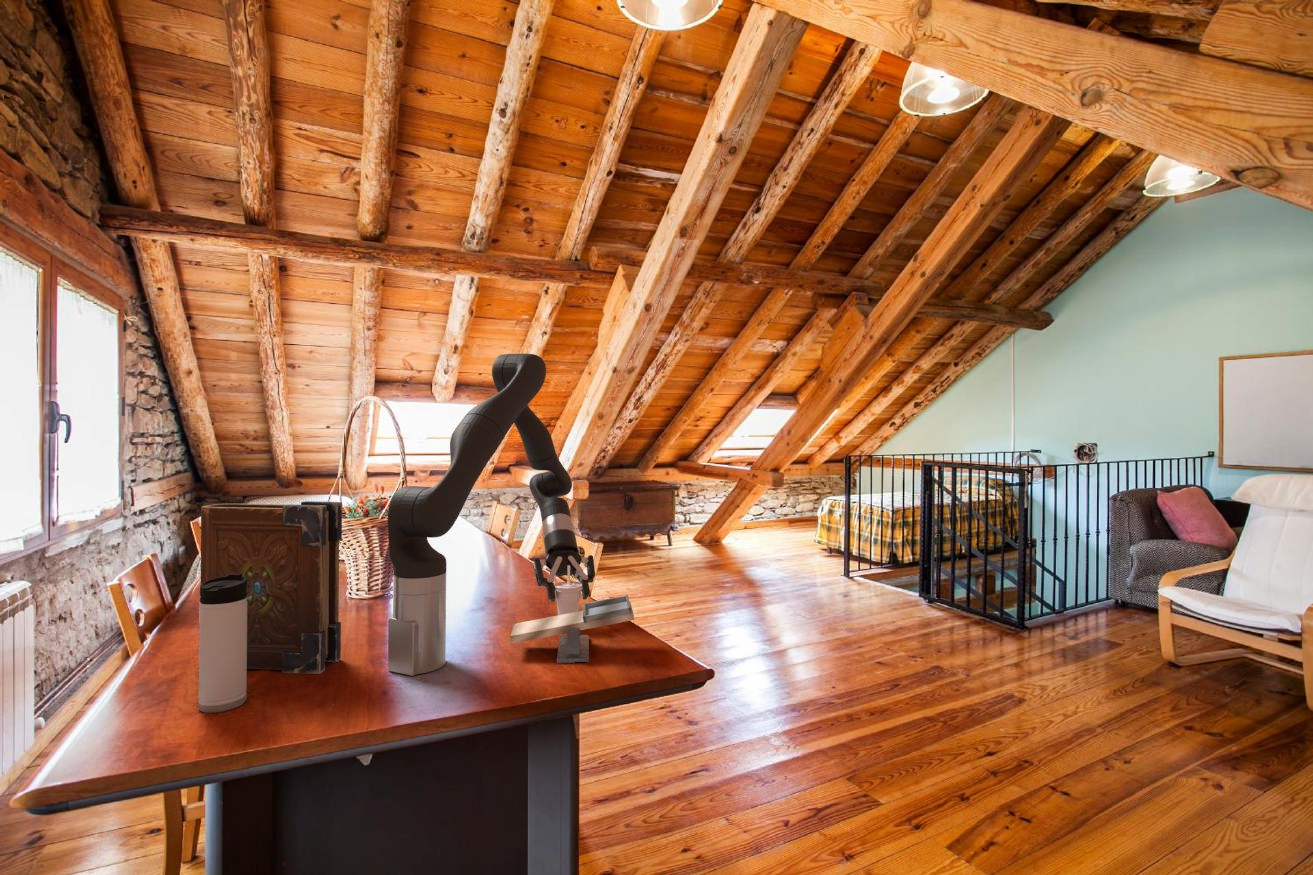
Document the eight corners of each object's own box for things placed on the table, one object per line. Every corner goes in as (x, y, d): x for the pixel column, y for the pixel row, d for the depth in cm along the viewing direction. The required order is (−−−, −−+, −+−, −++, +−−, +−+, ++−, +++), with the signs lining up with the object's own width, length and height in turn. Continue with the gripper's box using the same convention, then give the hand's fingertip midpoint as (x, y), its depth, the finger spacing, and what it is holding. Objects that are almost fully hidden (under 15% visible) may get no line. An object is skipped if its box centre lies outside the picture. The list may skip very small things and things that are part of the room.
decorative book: (340, 659, 120) (342, 501, 120) (319, 673, 113) (321, 506, 113) (220, 656, 121) (221, 499, 121) (191, 670, 114) (192, 503, 114)
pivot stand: (556, 663, 120) (557, 631, 120) (559, 639, 134) (560, 610, 134) (588, 662, 121) (589, 630, 121) (588, 638, 135) (588, 610, 134)
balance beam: (510, 645, 121) (508, 631, 121) (516, 629, 131) (514, 616, 131) (634, 620, 124) (632, 607, 124) (631, 607, 133) (629, 594, 133)
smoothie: (555, 633, 138) (555, 568, 138) (551, 624, 144) (552, 562, 144) (584, 631, 140) (585, 567, 140) (579, 622, 146) (580, 561, 146)
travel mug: (256, 695, 104) (257, 573, 104) (230, 713, 97) (231, 582, 97) (217, 695, 104) (218, 573, 103) (188, 713, 97) (189, 582, 97)
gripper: (531, 529, 146) (539, 592, 135) (591, 526, 151) (604, 587, 140) (527, 548, 151) (535, 610, 140) (586, 545, 156) (598, 605, 145)
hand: (569, 598), depth 140 cm, fingers open, 6 cm apart
